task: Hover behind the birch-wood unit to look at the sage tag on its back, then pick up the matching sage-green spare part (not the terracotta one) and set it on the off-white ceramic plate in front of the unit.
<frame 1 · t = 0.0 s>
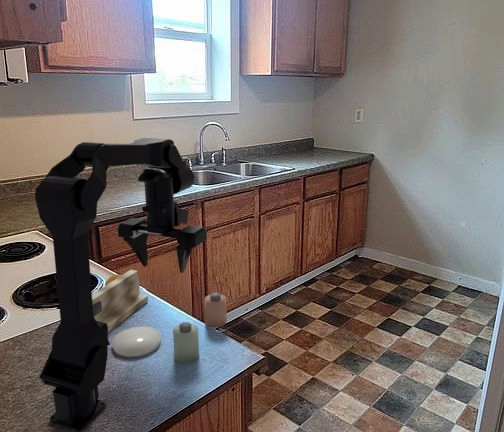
hand: (163, 269, 94), 15 cm above the worktop, fingers open, 9 cm apart
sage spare: (186, 355, 89), on the worktop
ceramic plate: (137, 343, 93), on the worktop
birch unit: (112, 320, 102), on the worktop
bread roll: (123, 289, 118), on the worktop
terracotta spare: (215, 322, 101), on the worktop
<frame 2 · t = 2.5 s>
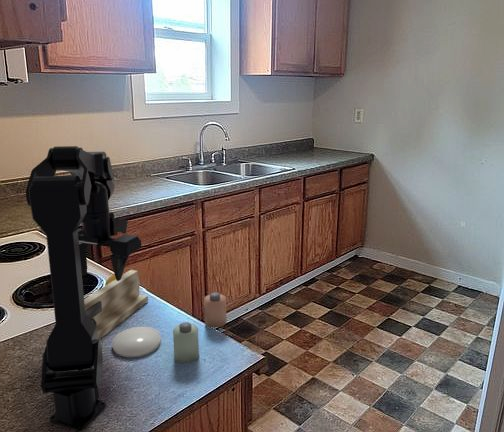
hand: (101, 277, 98), 12 cm above the worktop, fingers open, 9 cm apart
nothing on the worktop moved.
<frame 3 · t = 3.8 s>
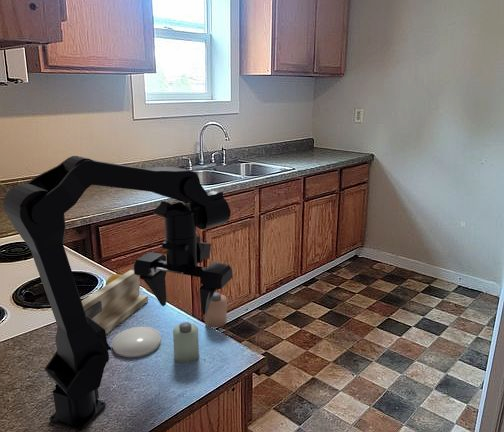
hand: (184, 309, 86), 11 cm above the worktop, fingers open, 9 cm apart
nothing on the worktop moved.
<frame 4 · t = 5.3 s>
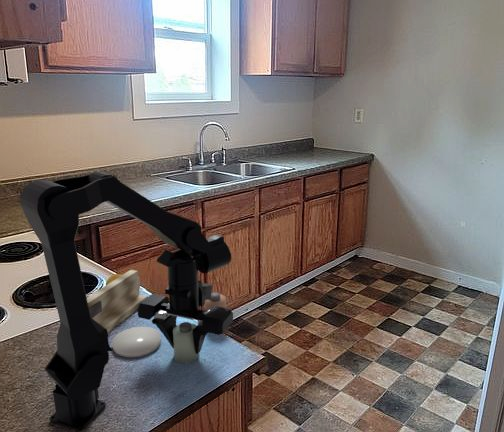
hand: (186, 350, 88), 1 cm above the worktop, fingers closed on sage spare, 5 cm apart
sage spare: (186, 355, 89), on the worktop, touching gripper
everything else where it was.
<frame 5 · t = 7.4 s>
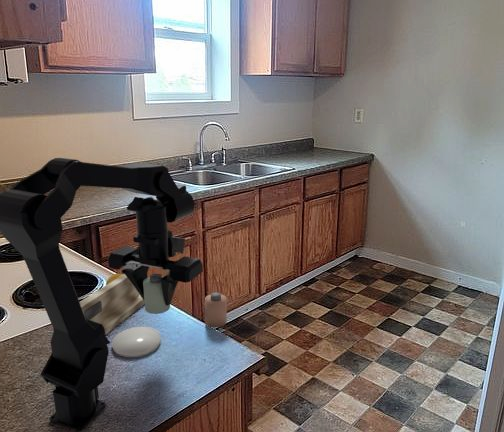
hand: (157, 302, 88), 11 cm above the worktop, fingers closed on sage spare, 5 cm apart
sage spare: (157, 307, 88), point 10 cm above the worktop, touching gripper
everything else where it was.
when the fingers open (4 cm above the worktop, at t = 9.5 s): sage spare drops 2 cm, resting on ceramic plate.
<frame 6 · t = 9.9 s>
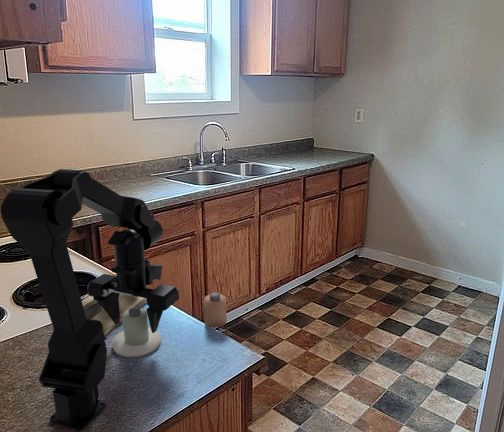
hand: (135, 327, 92), 4 cm above the worktop, fingers open, 9 cm apart
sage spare: (136, 339, 93), point 1 cm above the worktop, touching ceramic plate
everything else where it was.
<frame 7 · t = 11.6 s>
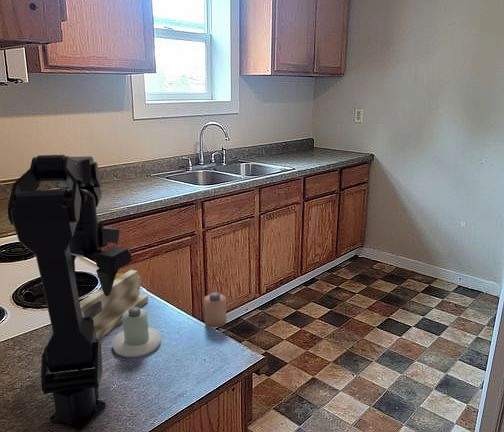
hand: (90, 291, 90), 12 cm above the worktop, fingers open, 9 cm apart
nothing on the worktop moved.
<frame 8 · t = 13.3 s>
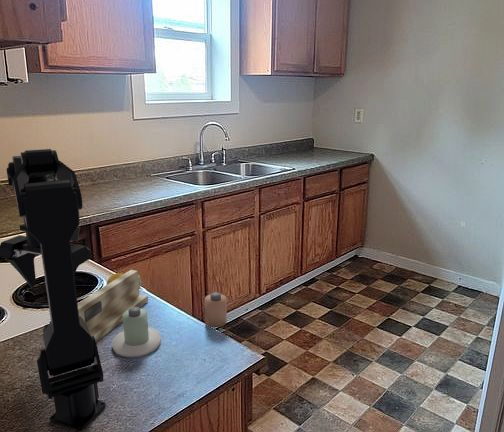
hand: (49, 289, 91), 12 cm above the worktop, fingers open, 9 cm apart
at the end: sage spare 0.0 cm off-centre on the ceramic plate, point 1.0 cm above the ceramic plate's base; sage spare tilted 0°; the gripper is holding nothing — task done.
